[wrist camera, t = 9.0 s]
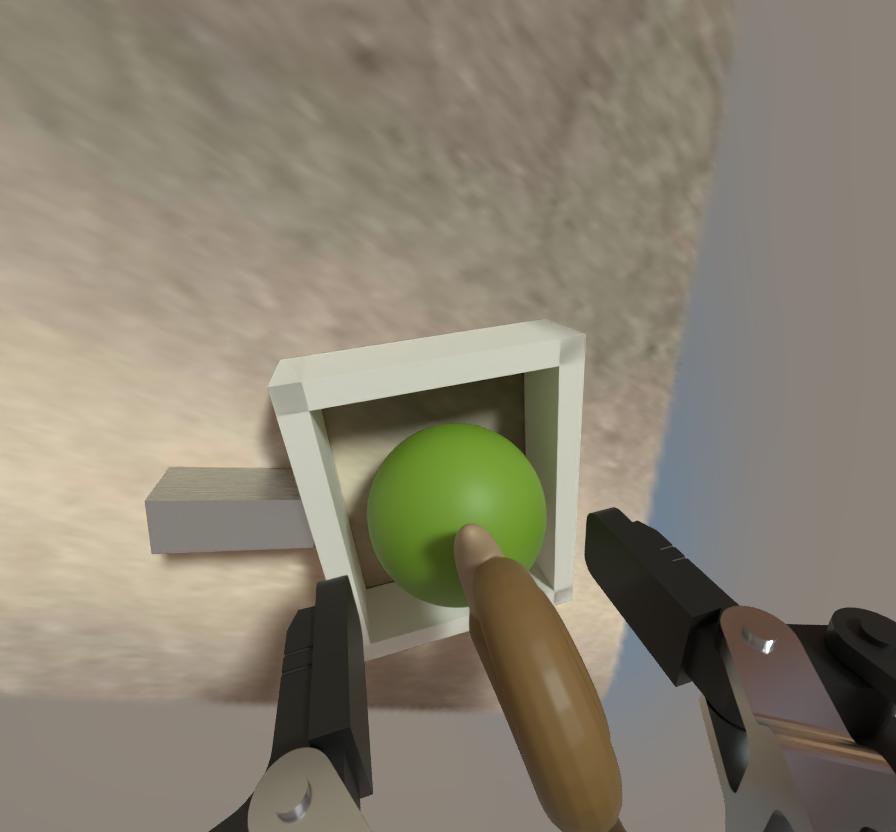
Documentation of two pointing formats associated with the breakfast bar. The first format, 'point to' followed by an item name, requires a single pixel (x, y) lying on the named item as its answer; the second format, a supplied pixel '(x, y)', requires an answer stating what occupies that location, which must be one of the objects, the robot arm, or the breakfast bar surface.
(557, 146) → the breakfast bar surface
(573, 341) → the white rectangular frame piece
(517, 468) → the snail figurine
